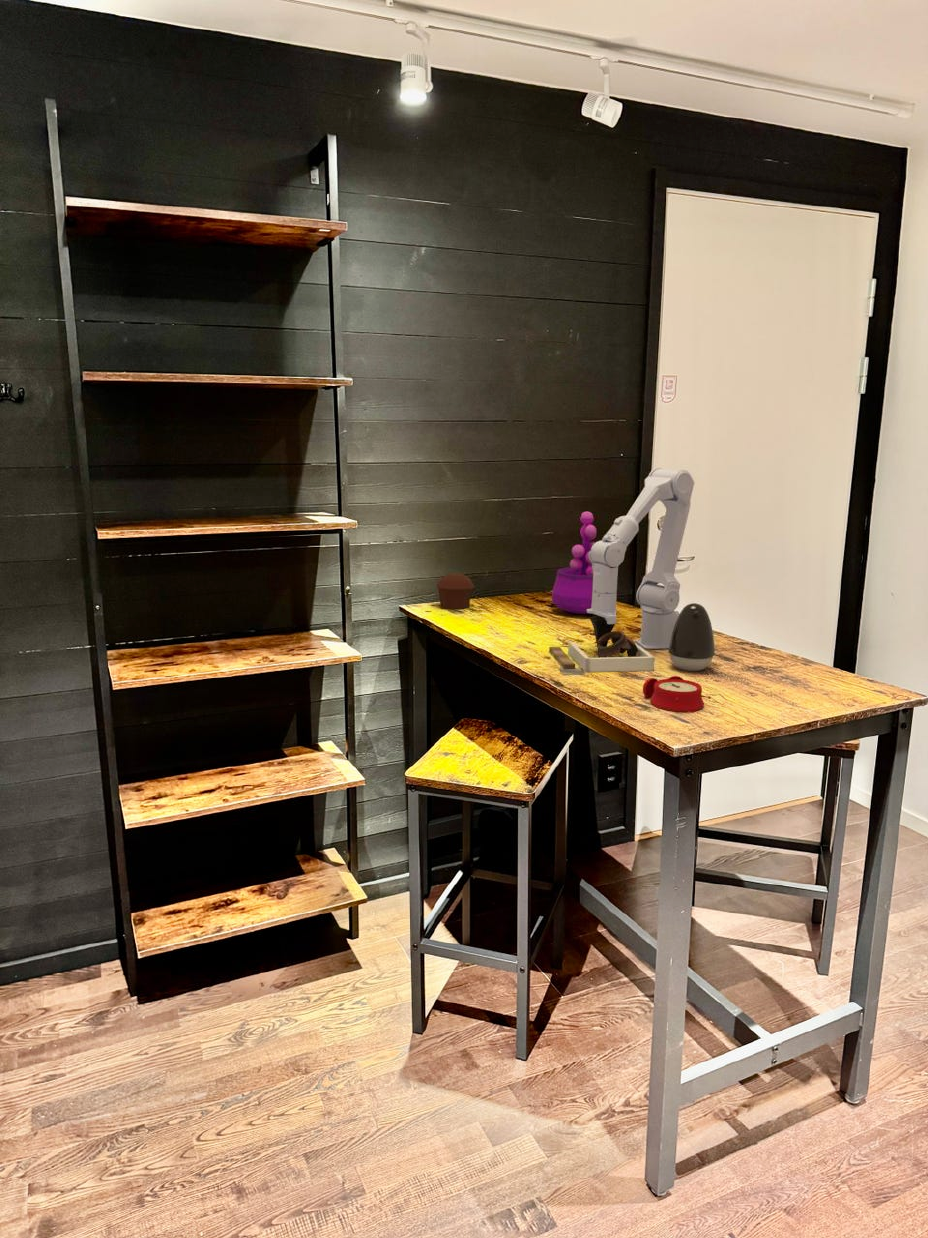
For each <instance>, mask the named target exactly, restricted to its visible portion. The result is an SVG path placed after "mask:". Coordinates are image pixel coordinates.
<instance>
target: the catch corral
mask: <svg viewBox="0 0 928 1238" xmlns="http://www.w3.org/2000/svg"><path fill="white" fill-rule="evenodd" d="M635 644H636V646H637V650H638V653H639V657H628V656H622V657H621V656H614V657H613V656H611V657H608V656H607V657H606V658H604V657H600V658H597V657H589V656H588V655H587V654H586V653H585V652H584V651H583V650H582V649H581V648H580V647H579V646H578V645H577V644H576V643H574V642H573V641H568V644H567V646H568V648H567V649H568V650H567V655H568V656H570V657H571V659H573V661H575V662H574V663H575V664H577V665H578V666H579V668H580V669H581V670H582V671H583V672H584V673H601V672H602V673H604V672H640V671H641V672H642V671H644V672H647V671H655V661H656V657H655V656H654V655H652V654H651V653H649V652H648V651H647V649H644V648H643V647H642V646H640V645H639V644H638V643H636V642H635Z"/></svg>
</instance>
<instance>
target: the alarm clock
mask: <svg viewBox="0 0 928 1238" xmlns="http://www.w3.org/2000/svg"><path fill="white" fill-rule="evenodd" d="M702 690H703V689H702V685H701V684H699V683H698V682H695V681H691V680H687V679H684V678H683V677H680V676H678V675H677V676H676V675H674V676H670V677H668V678H665V679H663V678H662V679H660V680H658V679H657V678H654V677H651V678H648V679H646V680H645V681H644V683H643V686H642V693H643V695H644V697H645V698H646V699H648V698H649V697H650V700H649V702H650V704H651V705H652V706H654V707H656V708H659V709H662V710H666V711H673V712H689V713H690V714H691V713H695V711H699V710H702V709H703V708H704V706H705V704H704V703H705V701H704V700H703V698H706V699H709V700H710V699H711V696H707V695H702V692H703V691H702Z"/></svg>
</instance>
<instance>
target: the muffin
mask: <svg viewBox="0 0 928 1238" xmlns="http://www.w3.org/2000/svg"><path fill="white" fill-rule="evenodd" d="M436 588H437V591H438V597H439V605H440V608H441V609H445V610H453V611H459V610H467V609H469V608H470V603H471V597H472V591H473V589H474V588H475V585H474V583H473V581H472V580H471V579H470V578H469V577H468V576H466V575H465V574H461V573H454V572H453V573H448V574H446V575H445V574H444V576H442V577H440V579H439V580H438V582H437V583H436Z"/></svg>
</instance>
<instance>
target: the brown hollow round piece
mask: <svg viewBox="0 0 928 1238" xmlns="http://www.w3.org/2000/svg"><path fill="white" fill-rule="evenodd" d="M607 640H609V641H610V640H611V643H612V644H609V645H607V646H606V647H602V646H601V645H602V644H603V643H605V642H606V641H607ZM597 643H598V644H597ZM597 643H596V646H595V647H596V658H608V657H613V656H617V657H621V655H623V654H625V653H626V655H627V657H639V653H638V650H637V646H636V644H637V643H636V642H635V640H634V639H633V638H632V637H630V636H629V635H627V634H625V632H624V631H622V630H619V629H618V630H617V629H616V630H612V631H611V632H609V633H607V634H605V635H604V636H602V637H601V638H600V639H599V640H598V641H597ZM635 643H636V644H635Z"/></svg>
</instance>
